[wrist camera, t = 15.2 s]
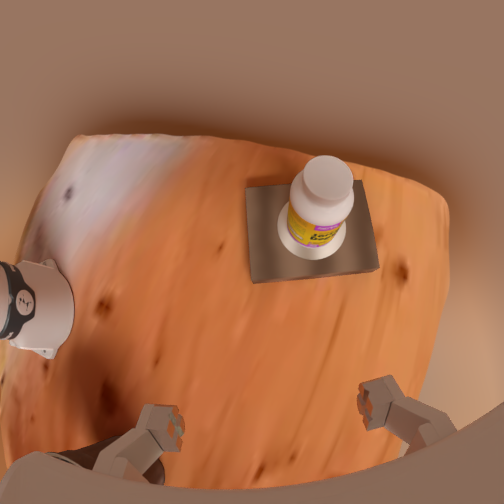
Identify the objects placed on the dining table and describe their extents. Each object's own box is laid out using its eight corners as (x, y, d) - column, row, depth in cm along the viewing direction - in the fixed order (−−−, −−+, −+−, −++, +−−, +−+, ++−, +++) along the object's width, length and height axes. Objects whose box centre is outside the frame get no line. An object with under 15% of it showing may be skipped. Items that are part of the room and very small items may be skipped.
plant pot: (117, 404, 35) (50, 430, 19) (196, 470, 31) (158, 528, 15) (84, 453, 32) (28, 480, 17) (151, 510, 29) (111, 556, 13)
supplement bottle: (302, 259, 35) (316, 223, 22) (277, 215, 36) (277, 162, 24) (345, 235, 35) (377, 191, 22) (319, 195, 37) (336, 137, 24)
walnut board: (253, 283, 38) (251, 280, 35) (247, 197, 41) (244, 187, 38) (372, 271, 36) (380, 267, 33) (356, 189, 40) (362, 179, 37)
